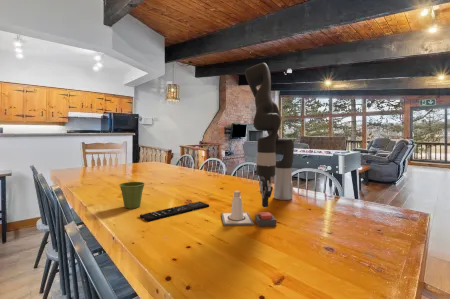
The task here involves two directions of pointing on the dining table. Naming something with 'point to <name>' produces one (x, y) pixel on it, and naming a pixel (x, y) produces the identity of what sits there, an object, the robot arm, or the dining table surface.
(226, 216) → the board
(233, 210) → the salt shaker
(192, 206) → the remote control
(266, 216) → the button
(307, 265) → the dining table surface
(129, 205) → the plant pot
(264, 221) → the button housing
